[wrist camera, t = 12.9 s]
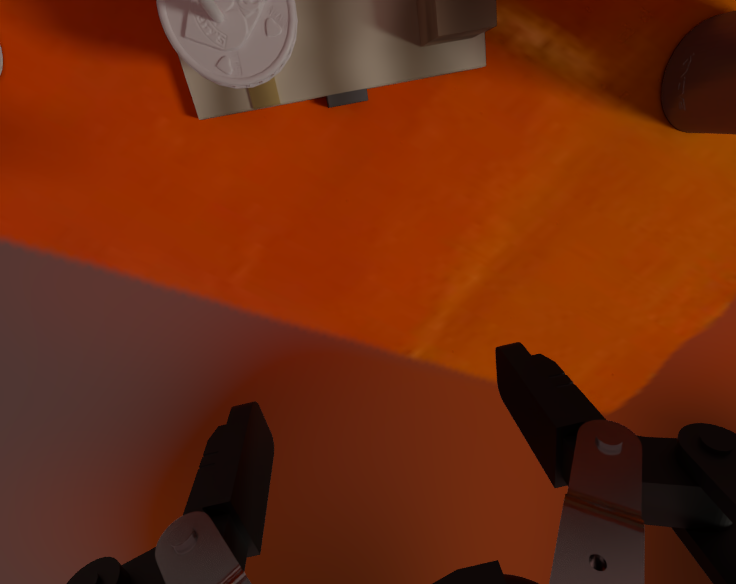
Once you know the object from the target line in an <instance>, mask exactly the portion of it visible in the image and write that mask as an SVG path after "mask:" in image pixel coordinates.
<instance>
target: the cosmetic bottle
mask: <svg viewBox="0 0 736 584" xmlns="http://www.w3.org/2000/svg"><path fill="white" fill-rule="evenodd" d="M2 67H3V55H2V50H1V46H0V75H1V72H2Z"/></svg>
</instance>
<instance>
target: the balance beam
mask: <svg viewBox="0 0 736 584" xmlns="http://www.w3.org/2000/svg"><path fill="white" fill-rule="evenodd" d="M295 4H296V12H297V19H298V24H297V35H296V42H295V45H294V48H293V51H292V54H291V56H290V58H289V60H288V61H287V63H286V64H285V66H284V67H283V69H282V70H281V71H280V72H279V73H278V74H277V75H276V76H274V77H273V78H272V79H271V80H269V81H268V82H266V83H263V84H261V85H258V86H256V87H253V88H241V89H235V88H230V87H225V86H220V85H218V84H216V83H214V82H212V81H210V80H208V79H206V78H203V77H202V76H201V75H200V74H199V73H197V72H196V71H195V70H194V69H192V68H191V67H190V66H189V65H188V64H187V63H186V62H185V61H184V60H183V59H182V58H181V57H180V56H179V55H178V56H179V59H180V62H181V65H182V68H183V71H184V74H185V77H186V81H187V84H188V87H189V90H190V93H191V96H192V99H193V102H194V105H195V108H196V111H197V114H198V118H199V119H200V120H203V119H209V118H214V117H219V116H225V115H230V114H236V113H241V112H246V111H252V110H257V109H262V108H268V107H273V106H278V105H284V104H289V103H294V102H300V101H305V100H310V99H316V98H321V97H326V98H327V103H328V108H330V107H335V106H341V105H346V104H351V103H356V102H362V101H366V100H368V96H367V89H369V88H375V87H380V86H385V85H391V84H396V83H401V82H407V81H412V80H418V79H423V78H428V77H434V76H439V75H444V74H450V73H455V72H460V71H466V70H471V69H476V68H481V67H484V66H486V52H485V31H487V30H489V29H491V28H493V27H495V26H497V15H496V0H295Z"/></svg>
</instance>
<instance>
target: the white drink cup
mask: <svg viewBox="0 0 736 584" xmlns="http://www.w3.org/2000/svg"><path fill="white" fill-rule="evenodd" d="M156 2H157V9H158V14H159V17H160V21H161V24H162V27H163V29H164V32H165V34H166V36H167V38H168V40H169V41H170V43H171V45H172V46H173V48H174V49H175V51H176V52H177V53H178V55H179V56H180V57H181V58H182V59H183V60H184V61H185V62H186V63H187V64H188V65H189V66H190V67H191V68H192V69H194V70H195V71H196V72H197V73H199V74H200V75H201V76H202V77H203V78H206V79H208V80H210V81H212V82H214V83H216V84H218V85H220V86H225V87H230V88H235V89H241V88H253V87H256V86H258V85H261V84H263V83H266V82H268V81H269V80H271V79H272V78H273V77H274V76H276V75H277V74H278V73H279V72H280V71H281V70H282V69H283V67H284V66H285V64H286V63H287V61H288V60H289V58H290V56H291V54H292V51H293V48H294V45H295V42H296V35H297V24H298V19H297V12H296V4H295V0H156Z"/></svg>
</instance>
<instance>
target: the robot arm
mask: <svg viewBox="0 0 736 584" xmlns="http://www.w3.org/2000/svg"><path fill="white" fill-rule="evenodd" d="M661 99H662V105H663V110H664V112H665V115H666V117H667V119H668V120H669V122H670V123H671V124H672V125H673V126H674V127H675V128H677V129H678V130H680V131H683V132H686V133H714V134H736V11H732V12H728V13H724V14H720V15H716V16H714V17H711V18H709V19H707V20H704V21H703V22H702V23H700V24H699V25H697V26H696V27H694V28H693V29H692V30H691V31H690V32H689V33H688V34H687V35H686V36H685V37H684V38H683V40H682V41H681V42H680V44H679V45H678V46H677V48H676V49H675V51H674V53H673V55H672V57H671V58H670V60H669V63H668V66H667V68H666V71H665V74H664V78H663V83H662V96H661ZM496 369H497V384H498V389H499V392H500V395H501V398H502V400H503V402H504V404H505V405H506V407H507V409H508V410H509V412H510V414H511V416H512V417H513V419H514V420H515V422H516V424H517V426H518V427H519V429H520V430H521V432H522V434H523V436H524V437H525V439H526V441H527V442H528V444H529V446H530V447H531V449H532V451H533V453H534V454H535V456H536V458H537V459H538V461H539V462H540V464H541V466H542V468H543V469H544V471H545V473H546V474H547V476H548V478H549V479H550V481H551V483H552V484H553V486H554V488H558V487H562V486H567V485H568V492H567V494H565V498H564V503H563V510H562V515H561V520H560V526H559V532H558V538H557V543H556V549H555V554H554V560H553V566H552V571H551V577H550V584H644V541H645V537H644V536H645V530H644V524H647V525H656V526H667V527H672V529H673V530H674V532H675V533H676V534H677V536H678V537H679V538H680V540H681V541H682V542H683V544H684V545H685V546H686V548H687V549H688V550H689V552H690V553H691V554H692V556H693V557H694V558H695V560H696V561H697V563H698V564H699V565H700V567H701V568H702V569H703V570H704V572H705V573H706V575H707V576H708V577H709V579H710V580H711V581H712V583H713V584H736V434H735V433H734V432H732V431H730V430H727V429H725V428H723V427H719V426H716V425H712V424H704V423H695V424H690V425H687V426H684V427H683V428H682V429H681V430H680V431H679V434H678V438H654V437H642V436H637V435H635V433H633V432H632V431H631V430H630V429H628V428H627V427H625V426H623V425H621V424H619V423H616V422H613V421H608V420H606V419H605V418H604V417H603V416H602V415H601V413H600V412H599V411H598V410H597V409H596V408H595V407H594V406H593V404H592V403H591V402H590V401H589V400H588V399H587V398H586V396H585V395H584V394H583V393H582V392H581V391H580V390H579V389H578V387H577V386H576V385H574V384H573V382H572V381H571V379H570V378H569V377H568V376H567V375H565V373H564V371H563V370H562V369H561V368H560V367H559V366H558V365H557V364H556V362H554V361H553V360H551V359H549V358H547V357H545V356H544V355H542V354H536V355H532V356H531V354H530V353H529V352H528V351H527V350H526V348H525V347H524V346H523V345H522V344H521V343H520V342H517V343H512V344H508V345H503V346H499V347H496ZM203 456H204V457H202V460H201V463H200V466H199V467H200V469H198V472H197V475H196V478H195V481H194V484H193V487H192V490H191V493H190V495H189V498H188V502H187V505H186V507H185V510H184V513H183V516H181V517H180V518H178V519H177V520H175V521H174V522H173V523H172V524H171V525H170V526H169V527H168V528H167V529H166V530H165V531H164V533H163V534H162V535H161V537H160V539H159V541H158V543H157V546H156V547H155V548H153V549H151V550H150V551H148V552H146V553H144V554H142V555H140V556H138V557H136V558H134V559H133V560H131V561H129V562H127V563H125V564H123V565H121V564H120V563H119V562H118V561H117V560H116V559H115V558H112V557H103V558H99V559H97V560H95V561H93V562H91V563H89V564H87V565H86V566H85V567H83V568H82V569H80V570H79V571H78V572H77V573H76V574H75V575H74V576H73V577H72V578H71V579H70V580H69V581H68V583H67V584H251V583H250V581H249V579H248V578H247V576H246V575H245V573H244V570H245V564H246V558H247V557H251V556H255V555H260V552H261V545H262V537H263V530H264V523H265V515H266V508H267V501H268V493H269V485H270V479H271V472H272V464H273V457H274V442H273V437H272V434H271V432H270V430H269V427H268V425H267V423H266V420H265V418H264V416H263V413H262V411H261V409H260V407H259V405H258V403H257V402H250V403H246V404H242V405H238V406H233V407H232V408H231V411H230V414H229V417H228V421H227V424H226V425H221V426H218V428H217V429H216V430H215V432H214V433H213V434H212V436H211V437H210V438H209V440H208V442H207V445H206V448H205V451H204V454H203ZM433 584H538V583H536V582H534V581H532V580H529V579H526V578H523V577H519V576H514V575H507V574H503V573H502V570H501V567H500V565H499V562H498V560H497V561H493V562H488V563H484V564H480V565H475V566H471V567H467V568H462V569H458V570H456V571H454V572H452V573H450V574H449V575H447V576H445V577H443V578H442V579H440V580H438V581H436V582H435V583H433Z"/></svg>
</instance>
